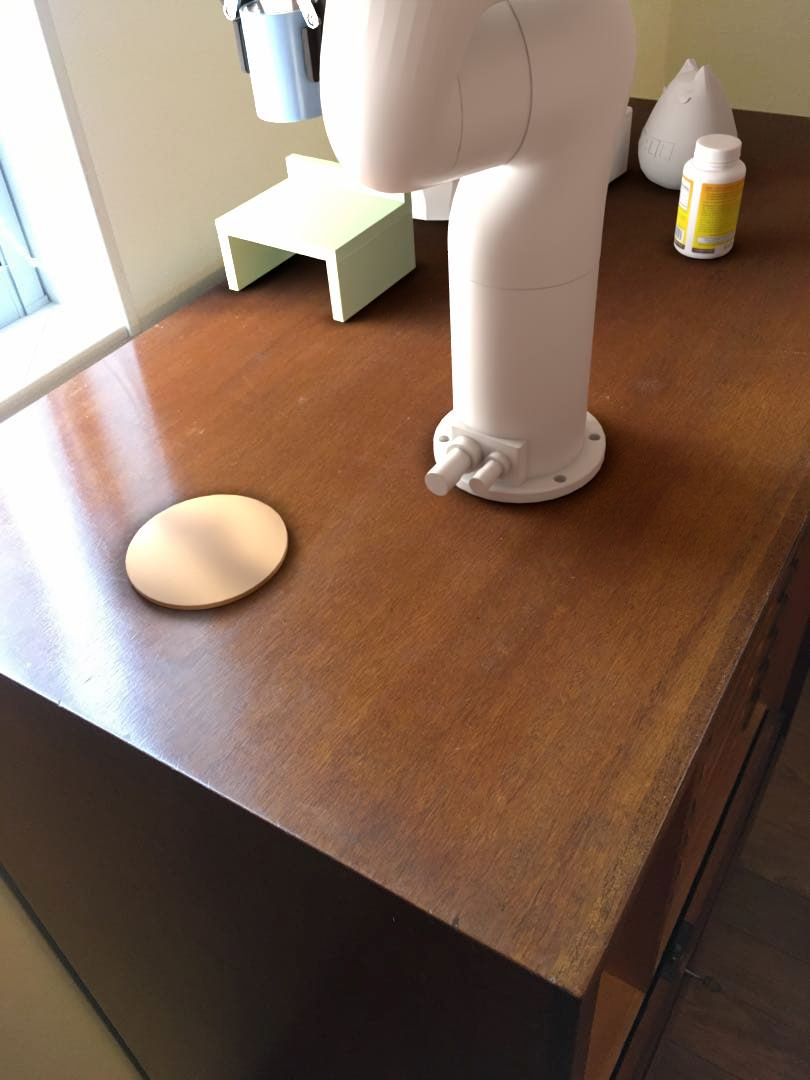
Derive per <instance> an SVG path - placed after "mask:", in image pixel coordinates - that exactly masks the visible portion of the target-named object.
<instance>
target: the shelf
mask: <svg viewBox="0 0 810 1080" xmlns="http://www.w3.org/2000/svg"><path fill="white" fill-rule="evenodd" d="M285 162H286V169H287V176H288V177H287V178H285V179H284V180H282V181H280V182H279V183H276V184H275V185H273V186H272V187H270V188H268V189H267V190H265V191H263V192H261V193H259V194H258V195H256V196H254V197H252V198H251V199H249V200H247V201H246V202H244V203H242V204H240V205H238V206H237V207H235V208H234V209H232V210H230V211H228V212H226V213H225V214H223V215H221V216H219V217H218V218H216V219H214V223H215V227H216V231H217V234H218V240H219V244H220V248H221V249H220V250H221V253H222V259H223V263H224V268H225V273H226V278H227V281H228V282H227V283H228V287H229V290H233V291H236V292H240V291H242V290H243V289H244V288H245V287H247V286H248V285H250V284H252V283H254V282H255V281H256V280H258V279H260V278H261V277H263V276H264V275H266V274H267V273H268V272H271V270H273V269H274V268H276V267H278V266H279V265H280V264H282V263H283V262H284V263H285V261H287V260H288V259H290V258H291V257H293V256H294V255H296V254H299V255H304V256H308V257H311V258H315V259H318V260H323V261H325V263H326V271H327V279H328V286H329V294H330V302H331V310H332V318H333V320H334V321H336V322H337V321H338V322H341V323H345V322H346V321H347V320H349V319H350V318H352V317H353V316H354V315H356V314H357V313H358V312H359V311H360V310H362V309H363V308H365V307H366V306H367V305H368V304H370V303H371V302H373V301H374V300H375V299H376V298H378V297H379V296H381V294H383V293H384V292H386V291H387V290H388V289H389V288H390V287H391V288H392V286H393V285H395V284H396V283H397V282H398V281H400V280H401V279H403V278H404V277H406V276H407V275H408V274H409V273H410V272H412V271H413V270H414V269H415V268H416V267H417V265H416V250H415V238H414V237H415V235H414V234H415V233H414V218H413V215H412V198H411V192H408V193H400V194H389V193H382V192H378V191H375V190H372V189H369V188H367V187H365V186H363V185H362V184H360V183H359V182H358V181H356V180H355V179H354V178H353V177H351V176H350V175H349V174H348V172H347V171H346V170H345V169H344V167H343V166H342V165H341V163H340V162H339V161H332V160H327V159H322V158H318V157H313V156H308V155H302V154H297V153H291V154H289V155H287V156H286V157H285Z"/></svg>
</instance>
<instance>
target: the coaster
mask: <svg viewBox="0 0 810 1080" xmlns="http://www.w3.org/2000/svg"><path fill="white" fill-rule="evenodd" d="M288 548H289V534H288V531H287V526H286V524H285V522H284V520H283V518H282V517H281V515H280V514H279V513H278V512H276V511H275V509H274V508H272V507H271V506H270V505H268V504H266V503H265V502H262V501H260V500H258V499H255V498H252V497H248V496H243V495H237V494H210V495H204V496H199V497H194V498H190V499H187V500H184V501H182V502H179V503H177V504H173V505H171V506H170V507H168V508H166V509H164V510H163V511H160V512H159V513H157V514H156V515H155V516H153V517H152V518H150V519H149V520H148V521H147V522H146V523H144V524H143V526H141V528H139V530H138V531H137V532H136V533H135V535H134V536H133V538H132V540H131V541H130V543H129V545H128V548H127V551H126V554H125V561H124V562H125V571H126V575H127V577H128V580H129V582H130V584H131V585H132V587H133V588H134V590H135V591H136V592H137V593H138V594H139V595H141V596H142V597H143V598H145V599H146V600H148V602H151V603H154V604H155V605H158V606H161V607H165V608H168V609H175V610H184V611H194V610H195V611H196V610H197V611H198V610H206V609H213V608H217V607H221V606H225V605H228V604H231V603H234V602H236V601H238V600H239V601H240V600H241V599H244V598H245V597H247V596H249V595H251V594H252V593H254V592H256V591H257V590H259V589H260V588H261V587H263V586H264V585H265V584H267V583H268V582H269V581H270V580H271V579H272V578H273V577H274V575H276V573H277V572H278V571H279V569H280V568H281V566H282V565H283V563H284V561H285V559H286V556H287V553H288Z"/></svg>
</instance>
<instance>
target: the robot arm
mask: <svg viewBox="0 0 810 1080" xmlns="http://www.w3.org/2000/svg"><path fill="white" fill-rule="evenodd" d="M218 1H219V2H220V3H221V5H222V6H223V12H224V15H225V16H226V18H227V19H228V20H230V21H232V26H233V32H234V37H235V43H236V49H237V54H238V60H239V66H240V70H241V73H243V74H250V69H249V63H248V57H247V51H246V45H245V39H244V33H243V28H242V22H241V16H240V7H241V6H243V5H244V4H246V3H249V2H251V1H254V0H218ZM297 1H298V4H299V6H300V8H301V11H302V13H303V15H304V18H305V20H306V22H307V24H308V26H306V27H303V28H302V41H303V48H304V56H305V63H306V71H307V78H308V79H309V81H310V82H319V81H320V93H321V105H322V112H323V115H322V117H323V118H322V119H323V122H324V127H325V131H326V134H327V137H328V141H329V143H330V145H331V148H332V150H333V152H334V156H335V157H336V159H337V160H338V163H341V165H342V166H343V167H344V169H345V170H346V171H347V172H348V174H349V175H350V176H351V177H353V178H354V179H355V180H356V181H358V182H359V183H360V184H362V185H363V186H365V187H367V188H369V189H372V190H375V191H378V192H382V193H389V194H400V193H408V192H413V191H418V190H422V189H426V188H429V187H433V186H436V185H440V184H443V183H446V182H449V181H452V180H456V179H459V178H461V179H460V181H459V184H458V187H457V190H456V193H455V196H454V200H453V204H452V209H451V213H450V219H449V220H448V227H447V229H448V230H447V251H448V253H447V255H448V258H447V259H448V283H449V285H448V286H449V309H450V312H449V313H450V336H451V337H450V340H451V341H450V342H451V370H452V397H453V398H452V400H453V401H452V403H453V409H451V410H450V411H449V412H448V413H447V414H445V416H444V417H443V418H442V419H441V421H440V423H439V424H438V425H437V427H436V429H435V432H434V436H433V454H434V460H435V463H436V464H435V465H434V466H433V467H432V468H431V469H430V470H429V471H428V472H427V473H426V474H425V475H424V484H425V486H426V487H427V489H428V490H429V491H430V492H431V494H434V495H435V496H438V497H445V496H446V495H448V493H450V491H451V490H452V489H453V488H454V487H455V486H456V487H457V488H459V489H461V490H462V491H464V492H466V493H468V494H471V495H473V496H477V497H480V498H483V499H485V500H490V501H494V502H500V503H510V504H528V503H540V502H545V501H550V500H555V499H558V498H560V497H563V496H566V495H569V494H571V493H573V492H575V491H577V490H578V489H581V488H583V487H584V486H585V485H587V484H588V483H589V482H590V481H591V480H592V479H594V477H596V475H597V474H598V473H599V471H600V470H601V468H602V465H603V463H604V460H605V455H606V454H605V453H606V447H607V445H606V443H607V442H606V435H605V432H604V429H603V426H602V425H601V423H600V422H599V421H598V419H597V418H596V417H595V416H594V415H593V414H592V413H590V411H589V410H588V402H589V390H590V389H589V388H590V377H591V365H592V353H593V342H594V331H595V329H594V328H595V319H596V306H597V294H598V284H599V273H600V271H599V270H600V258H601V255H602V254H601V253H602V240H603V230H604V218H605V210H606V202H607V194H608V189H609V184H608V182H609V176H610V171H611V166H612V161H613V156H614V152H615V148H616V144H617V140H618V137H619V134H620V130H621V127H622V123H623V120H624V116H625V113H626V109H627V106H628V105H629V101H630V97H631V94H632V90H633V84H634V79H635V73H636V66H637V56H638V55H637V53H638V43H637V42H638V41H637V40H638V39H637V38H638V37H637V28H636V22H635V18H634V17H635V16H634V13H633V10H632V7H631V4H630V2H629V0H318V1H317V2H315V0H297Z"/></svg>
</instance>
